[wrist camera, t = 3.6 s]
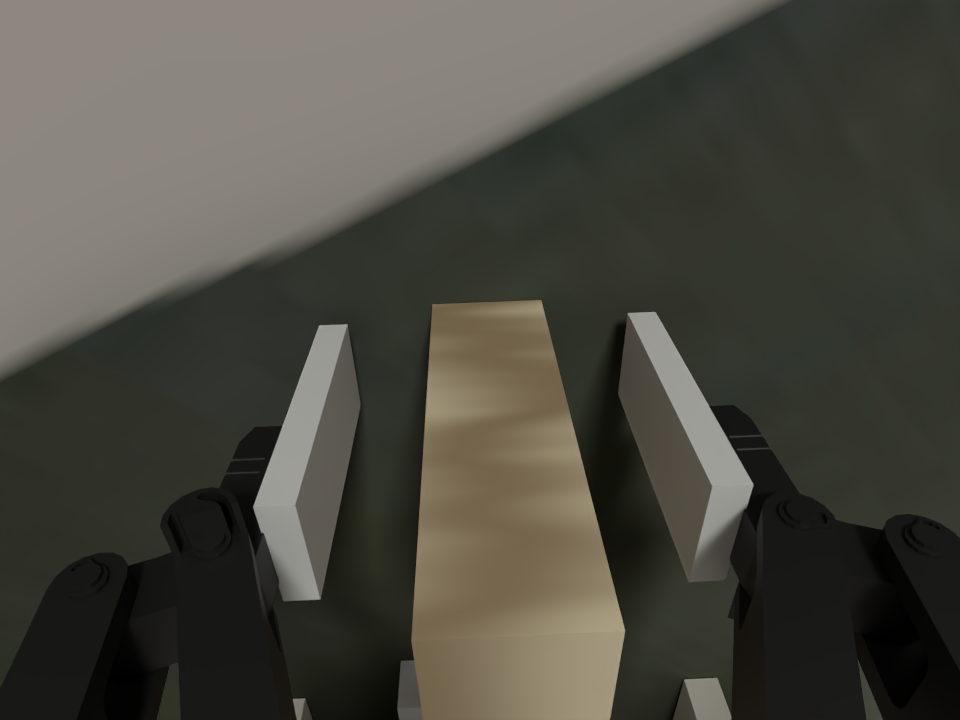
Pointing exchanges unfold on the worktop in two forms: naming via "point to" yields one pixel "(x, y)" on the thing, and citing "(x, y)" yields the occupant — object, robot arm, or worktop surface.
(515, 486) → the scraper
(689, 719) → the cabinet
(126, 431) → the worktop surface
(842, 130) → the worktop surface
